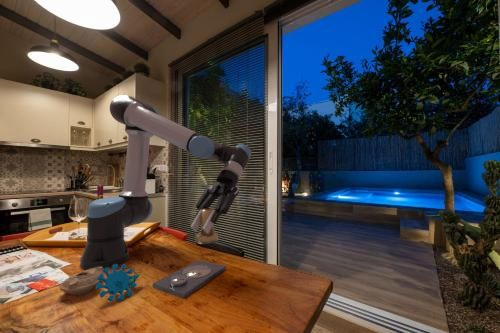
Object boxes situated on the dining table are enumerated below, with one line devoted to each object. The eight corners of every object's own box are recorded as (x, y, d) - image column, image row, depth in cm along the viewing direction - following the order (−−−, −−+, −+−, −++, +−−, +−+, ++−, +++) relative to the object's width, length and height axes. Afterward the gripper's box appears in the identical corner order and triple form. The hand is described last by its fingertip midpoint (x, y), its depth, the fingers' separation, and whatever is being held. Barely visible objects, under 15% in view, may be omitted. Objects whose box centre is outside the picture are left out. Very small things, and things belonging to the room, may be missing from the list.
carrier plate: (152, 287, 63) (152, 279, 63) (198, 263, 81) (198, 256, 81) (184, 298, 58) (184, 289, 58) (225, 269, 76) (225, 262, 76)
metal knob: (191, 241, 68) (191, 209, 69) (205, 236, 75) (206, 206, 75) (208, 245, 65) (209, 211, 66) (222, 239, 71) (223, 208, 72)
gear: (100, 304, 52) (95, 265, 58) (91, 316, 54) (87, 278, 60) (145, 292, 61) (137, 259, 66) (136, 302, 63) (129, 270, 68)
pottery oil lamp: (114, 276, 69) (117, 259, 67) (82, 311, 58) (84, 292, 56) (89, 266, 70) (91, 249, 67) (52, 299, 58) (52, 280, 56)
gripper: (253, 183, 80) (227, 240, 65) (215, 182, 88) (184, 232, 73) (246, 168, 76) (217, 226, 60) (207, 168, 84) (172, 219, 68)
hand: (199, 229), depth 67 cm, fingers closed on metal knob, 4 cm apart
